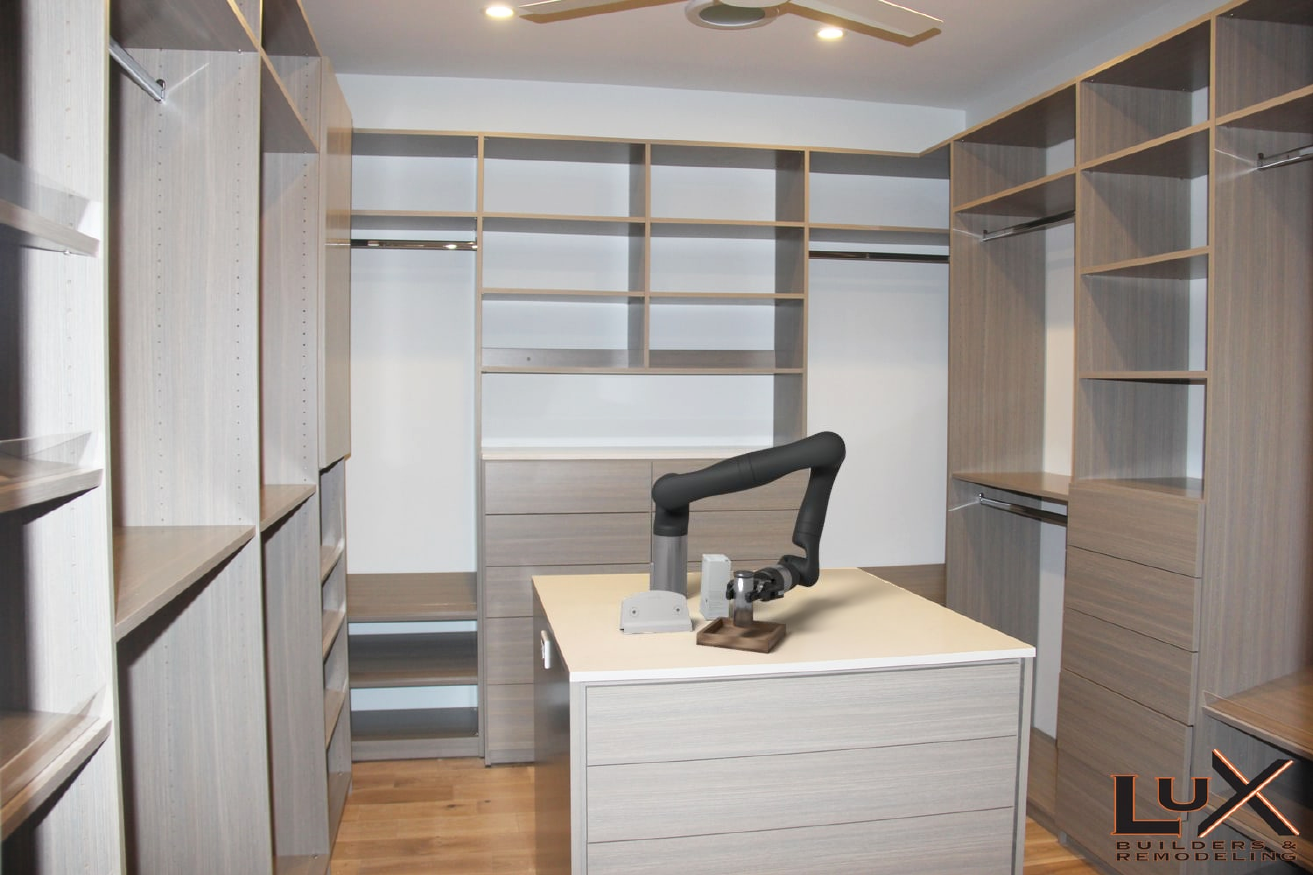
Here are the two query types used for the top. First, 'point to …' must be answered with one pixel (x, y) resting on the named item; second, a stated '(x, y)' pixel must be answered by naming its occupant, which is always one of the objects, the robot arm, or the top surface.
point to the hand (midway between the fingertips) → (738, 596)
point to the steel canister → (742, 599)
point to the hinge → (655, 612)
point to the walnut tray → (741, 635)
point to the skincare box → (715, 586)
